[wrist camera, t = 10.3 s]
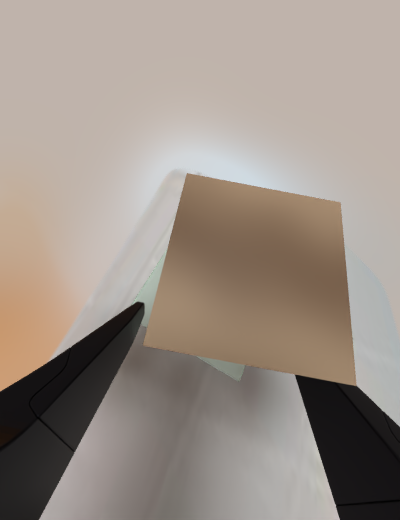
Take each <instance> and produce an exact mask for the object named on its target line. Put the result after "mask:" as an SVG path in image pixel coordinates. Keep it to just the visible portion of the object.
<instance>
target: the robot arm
mask: <svg viewBox="0 0 400 520" xmlns="http://www.w3.org/2000/svg"><path fill="white" fill-rule="evenodd" d="M144 314H145V304H144V303H143V302H139V301H138V302H136V303H134V304H133V305H131V306H130V307H128V308H127V309H125V310H124V311H122V312H121V313H120V314H118V315H117V316H115V317H114V318H112V319H111V320H109V321H108V322H106V323H105V324H104V325H102V326H101V327H99V328H98V329H96V330H95V331H93V332H92V333H90V334H89V335H88V336H86V337H85V338H83V339H82V340H80V341H79V342H77V343H76V344H74V345H73V346H72V347H71V348H69V349H67V350H66V351H64V352H63V353H61V354H60V355H58V356H57V357H55V358H54V359H52V360H51V361H49V362H48V363H46V364H45V365H43V366H42V367H40V368H38V369H37V370H35V371H33V372H32V373H30V374H29V375H27V376H26V377H24V378H22V379H21V380H19V381H17V382H15V383H14V384H12V385H10V386H9V387H7V388H5V389H4V390H2V391H0V520H39V519H40V517H41V515H42V513H43V511H44V509H45V507H46V505H47V503H48V502H49V500H50V498H51V496H52V494H53V492H54V490H55V488H56V487H57V485H58V483H59V481H60V479H61V477H62V475H63V473H64V472H65V470H66V468H67V466H68V464H69V462H70V460H71V458H72V456H73V455H74V452H75V451H76V449H77V447H78V445H79V443H80V441H81V439H82V437H83V436H84V434H85V432H86V430H87V428H88V426H89V424H90V422H91V421H92V419H93V417H94V415H95V413H96V411H97V409H98V407H99V406H100V404H101V402H102V400H103V398H104V396H105V394H106V392H107V391H108V389H109V387H110V385H111V383H112V381H113V379H114V377H115V375H116V374H117V372H118V370H119V368H120V366H121V364H122V362H123V360H124V359H125V357H126V355H127V353H128V351H129V349H130V347H131V345H132V343H133V341H134V339H135V337H136V334H137V332H138V329H139V327H140V324H141V322H142V319H143V317H144ZM295 377H296V380H297V383H298V386H299V390H300V393H301V396H302V399H303V402H304V406H305V409H306V412H307V415H308V418H309V422H310V425H311V428H312V431H313V434H314V438H315V441H316V444H317V447H318V450H319V454H320V457H321V460H322V463H323V466H324V470H325V473H326V476H327V479H328V482H329V486H330V489H331V492H332V495H333V498H334V502H335V504H336V508H337V512H338V515H339V518H340V520H400V427H399V426H398V425H397V424H396V423H395V422H394V421H393V420H392V419H391V418H390V417H389V416H388V415H387V414H386V413H385V412H383V411H382V410H381V409H380V408H379V407H378V406H377V405H376V404H375V403H374V402H373V401H372V400H371V399H370V398H369V397H368V396H367V395H366V394H365V393H364V392H363V391H362V390H361V389H359V388H358V387H357V386H354V385H348V384H343V383H338V382H332V381H327V380H322V379H317V378H311V377H306V376H301V375H295Z"/></svg>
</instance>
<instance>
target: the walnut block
mask: <svg viewBox="0 0 400 520" xmlns="http://www.w3.org/2000/svg"><path fill="white" fill-rule="evenodd" d="M143 346H147V347H152V348H158V349H163V350H168V351H174V352H179V353H184V354H190V355H195V356H200V357H205V358H211V359H216V360H221V361H227V362H232V363H237V364H242V365H248V366H253V367H258V368H264V369H269V370H274V371H280V372H285V373H290V374H295V375H301V376H306V377H311V378H317V379H322V380H327V381H332V382H338V383H343V384H348V385H354V386H356V375H355V363H354V352H353V340H352V329H351V317H350V306H349V295H348V283H347V272H346V260H345V249H344V238H343V226H342V215H341V204H340V202H335V201H330V200H324V199H319V198H314V197H309V196H303V195H298V194H293V193H288V192H282V191H277V190H272V189H266V188H261V187H256V186H251V185H246V184H240V183H235V182H230V181H225V180H219V179H214V178H209V177H204V176H198V175H193V174H188V173H187V175H186V179H185V183H184V187H183V191H182V194H181V198H180V202H179V206H178V210H177V214H176V218H175V222H174V226H173V230H172V233H171V237H170V241H169V245H168V249H167V253H166V257H165V261H164V265H163V268H162V272H161V276H160V280H159V284H158V288H157V292H156V296H155V300H154V304H153V307H152V311H151V315H150V319H149V323H148V327H147V331H146V335H145V339H144V343H143Z"/></svg>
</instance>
